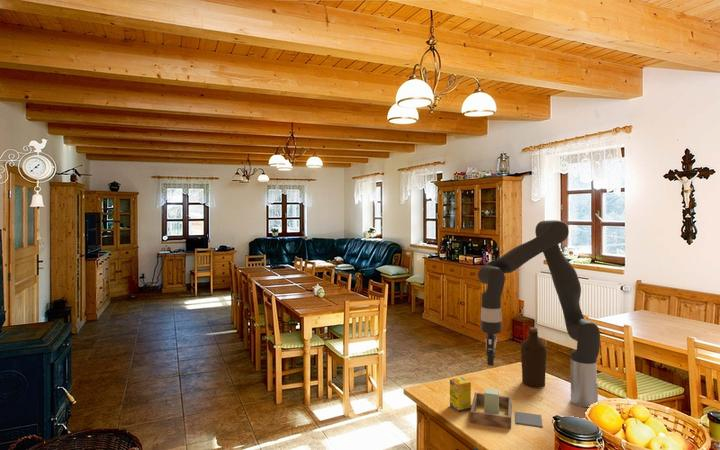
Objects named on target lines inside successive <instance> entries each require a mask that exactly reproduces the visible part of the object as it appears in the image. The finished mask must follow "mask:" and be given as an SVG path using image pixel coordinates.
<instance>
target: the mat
mask: <svg viewBox="0 0 720 450" xmlns="http://www.w3.org/2000/svg"><path fill="white" fill-rule="evenodd" d="M515 424H517V425H525V426H529V427H538V428H543V418H542V414H536V413H530V412H529V413H528V412H524V411H523V412H522V411H515Z"/></svg>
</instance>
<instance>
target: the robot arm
mask: <svg viewBox="0 0 720 450" xmlns="http://www.w3.org/2000/svg"><path fill="white" fill-rule="evenodd" d="M534 232H535V237H534V238H533V239H530V240H529V241H526V242H523V243H522V244H519V245H517V246H515V247H512V248H511V249H510V250H508V251H507V252H506V253H504V254H503V255H502V256H500V257H499V258H496V259H494V260H492V261H489V262H488V263H485V264H484V265H483V266H482V267H480V269H479V270H478V273H477V278H478V280H479V281H480V282H481V283H483V284H485V285H487V287H486V290H485V291H482V293H481V310H480V330H481V332H482V333H485V334H486V335H485V339H484V340H485V349H486V354H485V355H486V357H487V360H486V361H487V362H486V363H487V366H490V367H493V366H494V365H495V364H494V363H495V362H494V361H495V357H496V347H497V341H498V336H497V335H496V334H501V333H502V330H503V329H502V328H503V327H502V326H503V324H502V323H503V322H502V320H503V317H502V294H503V291H504V287H505V282H506V280H505V279H506V276H505V274H510V273H513V272H515V271H516V270H518V269H519V268H520V267H522V266H523V265H525V264H526V263H527V262H529V261H531V260H532V259H533V258H536V257H537V256H538V255H540V254H542V253H543V255H544V257H545V258H544V259H545V260H546V265H547V267H548V271H549V273H550V276H551V279H552V283H553V286H554V288H555V292H556V294H557V297H558V300H559V304H560V306H561V310H562V313H563V318H564V324H565V327H566V332H567V334H568V335H569V337H570V338H571V339H572V340H574V341H576V342H577V344H576V349H574V350H572V351H571V352H570V402H571V403H572V404H574V405H576V406H578V407H583V408H589V407H588V406H590V405H591V404H593V403H596V402H598V399H599V394H598V393H599V392H598V391H599V384H598V381H597V380H598V377H597V376H598V375H597V374H598V371H597V370H598V364H597V363H598V357H599V355H600V354H599V353H600V347H601V346H600V344H601V332H600V328H599V326H598V325H597V324H596V323H594V322H592V321H589V320H588V319H585V317H584V314H583V312H582V309H581V305H580V299H581V295H582V286H581V282H580V279H579V276H578V273H577V271H576V269H575V268H574V266H573V265H572V264H571V262H570V261H569V260H568V259H567V258H566V257H565V255H564V254H563V252H562V250H561V248H560V244H561V243H563V242H564V241H566V239H567V238H568V236H569V232H570V231H569V227H568V225H567V223H565V222H564V221H562V220H558V219H556V220H555V219H551V220H550V219H549V220H548V219H547V220H541V221H539V222H538V223H537V224H536V226H535V231H534ZM598 403H599V402H598Z"/></svg>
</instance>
